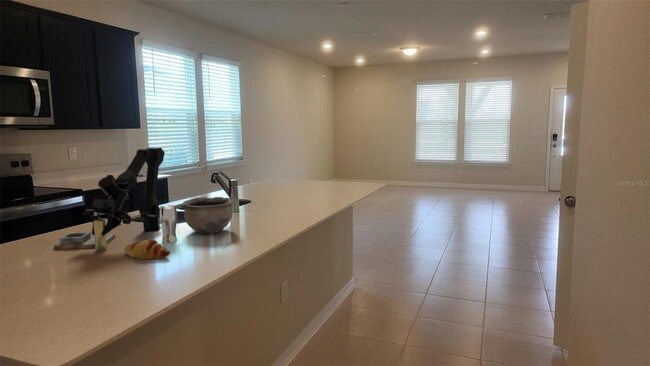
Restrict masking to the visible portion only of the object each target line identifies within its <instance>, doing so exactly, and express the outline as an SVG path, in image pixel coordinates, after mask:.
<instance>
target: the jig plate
mask: <svg viewBox="0 0 650 366" xmlns="http://www.w3.org/2000/svg"><path fill="white" fill-rule="evenodd" d="M115 238H116V234H115V233H107V234H106V242H107V244H108V243H110V242H111V241H112V240H114V239H115ZM93 248H95V235H92V231H89V232H88V231H87V232H68V233H67V234H65V235H63V236H61V237H60V238H59V241H58V242H57V243H55V244H53V250H70V249H71V250H72V249H93Z"/></svg>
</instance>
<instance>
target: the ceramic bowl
mask: <svg viewBox="0 0 650 366" xmlns="http://www.w3.org/2000/svg"><path fill="white" fill-rule="evenodd" d="M182 204H183V207H184V211H183V217H184V218H183V219H184V220H185V222H186V224H187V225H188V227H190V228H191V229H192V230H193V231H194V232H196V233H201V234H212V233H213V234H214V233H218V232H222V231H223V230H224V229H225V228H226V227H228V225H229V224H230V222H231V220H232V218H233V210H232V207H231V204H232V199H231V198H229V197H225V198H224V197H223V196H214V197H213V199H209V198H208V197H206V196H201V197H194V198H191V199H187V200H184V201H183V202H182Z"/></svg>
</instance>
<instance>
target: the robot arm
mask: <svg viewBox="0 0 650 366" xmlns="http://www.w3.org/2000/svg"><path fill="white" fill-rule="evenodd" d="M164 157H165V150H163V148H162V147H147V148H139V149H137V150H136V154H135V156H134V157H133V159H132V160H131V162H130V164H129V166H128V167H127V169H126V170H125V171H123V172H121V173H120V174H119V175H118V176H117V177H116V179H115V177H114V175H113V174H107V176H105V177H103V178H101V179H100V180H99V181H98V184H97V186H98V187H99V188H100V189H101V190H102V191H103V192H104V194H105V195H106V196H109V197H108V198H107V199H102V198H101V199H100V198H94V199H93V200H94V201H93V205H92V208H97V211H96V210H95V209H85V210H84V211H83V213H82V216H83V217H85V219H86V220H88V221H89V222H91V223H92V226H91V227H92V228H91V229H92V230H91V235H94V221H95V220H107V221H106V223H105V228H104V229H103V232H102V236H104V235H106V234H109V233H110V232H111V231H112V230H114V229H115V228H117V227H119V226H122V223H123V225H130V224H131V222H132V216H131V215H130V214H128V212H127V211H123V207H122V206H123V204H124V202H125V200H128V201H129V200H131V198H130V196H129V191H133V190H135V188H136V185H137V183H138V175H139V174H140V172H141V170H142V168H143V167H144V165H145V164H147V170H146V178H145V188H144V189H145V190H144V196H143V197H142V198H139V200H138V207H137V208H138V212H139V215H140V218H143V221H142V222H143V232H156V231H157V232H158V231H159V230H161V229H162V227H161V223H160V202H159V200H158V198H157V188H158V187H157V186H158V179H159V178H158V177H159V169H160V166H161V164H162V163H163V162H164ZM126 191H128V192H126ZM121 222H122V223H121Z"/></svg>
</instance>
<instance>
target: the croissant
mask: <svg viewBox="0 0 650 366" xmlns="http://www.w3.org/2000/svg"><path fill="white" fill-rule="evenodd" d="M124 252H125V253H126V254H127V255H128V256H129V257H132V258H133V259H139V258H140V259H139V260H150V259H151V258H154V259H155V260H157V258H159V259H164V258H167V257H168V256H169V255H170V254H171V250H169V249H167V248H166V247H163V245H162V244H161V243H158V241H156V240H155V239H146V240H145V239H144V240H142V241H135V242H133V243H131V244H128V245H127V246H125V248H124Z"/></svg>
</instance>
